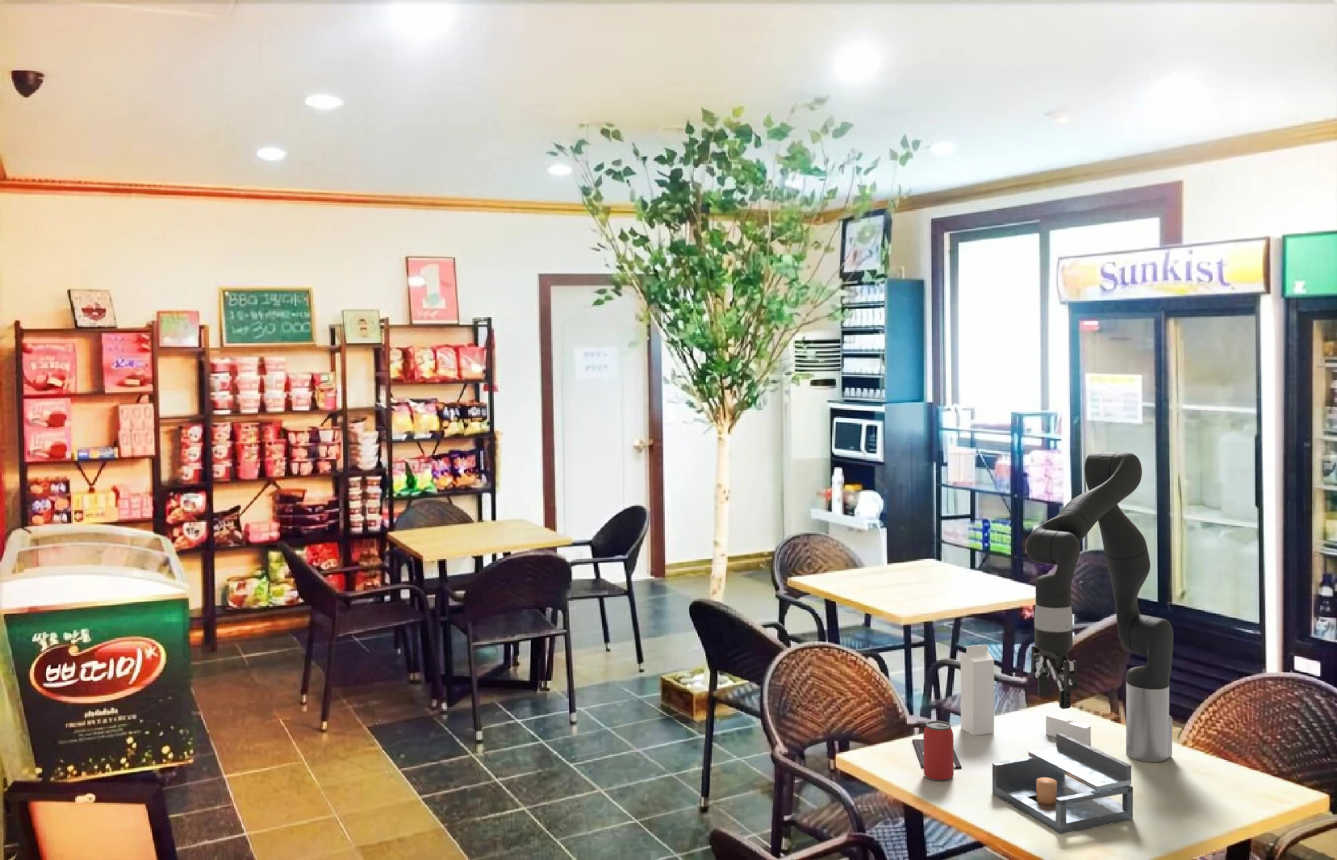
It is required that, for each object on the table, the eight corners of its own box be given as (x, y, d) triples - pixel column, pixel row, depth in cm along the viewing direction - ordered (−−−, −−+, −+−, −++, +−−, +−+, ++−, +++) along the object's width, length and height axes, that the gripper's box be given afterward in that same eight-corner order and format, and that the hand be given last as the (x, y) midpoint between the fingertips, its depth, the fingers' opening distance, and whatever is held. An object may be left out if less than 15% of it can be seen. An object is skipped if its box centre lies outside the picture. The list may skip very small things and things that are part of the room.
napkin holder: (1035, 733, 280) (1035, 711, 280) (1080, 732, 280) (1080, 710, 279) (1055, 754, 265) (1055, 731, 265) (1103, 753, 265) (1103, 730, 265)
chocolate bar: (949, 739, 274) (961, 766, 256) (949, 743, 274) (961, 770, 256) (912, 739, 274) (921, 766, 257) (912, 743, 274) (921, 770, 257)
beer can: (954, 782, 247) (954, 730, 247) (924, 781, 249) (923, 728, 248) (952, 772, 254) (952, 720, 253) (923, 770, 255) (923, 719, 254)
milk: (994, 733, 279) (994, 647, 277) (972, 736, 277) (973, 649, 275) (981, 726, 285) (981, 641, 283) (960, 728, 283) (960, 643, 281)
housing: (1060, 781, 247) (1060, 751, 246) (1132, 819, 226) (1133, 787, 226) (992, 794, 241) (992, 763, 240) (1060, 834, 220) (1060, 800, 220)
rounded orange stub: (1048, 804, 235) (1048, 776, 235) (1060, 811, 231) (1060, 783, 231) (1032, 807, 234) (1032, 779, 233) (1045, 814, 230) (1045, 786, 229)
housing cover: (1060, 750, 246) (1060, 732, 246) (1131, 784, 226) (1131, 765, 226) (1028, 756, 243) (1028, 738, 243) (1097, 791, 223) (1097, 771, 223)
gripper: (1089, 632, 225) (1089, 711, 226) (1051, 616, 238) (1052, 690, 240) (1055, 635, 223) (1055, 714, 224) (1019, 619, 237) (1020, 693, 238)
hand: (1053, 701), depth 232 cm, fingers open, 8 cm apart
